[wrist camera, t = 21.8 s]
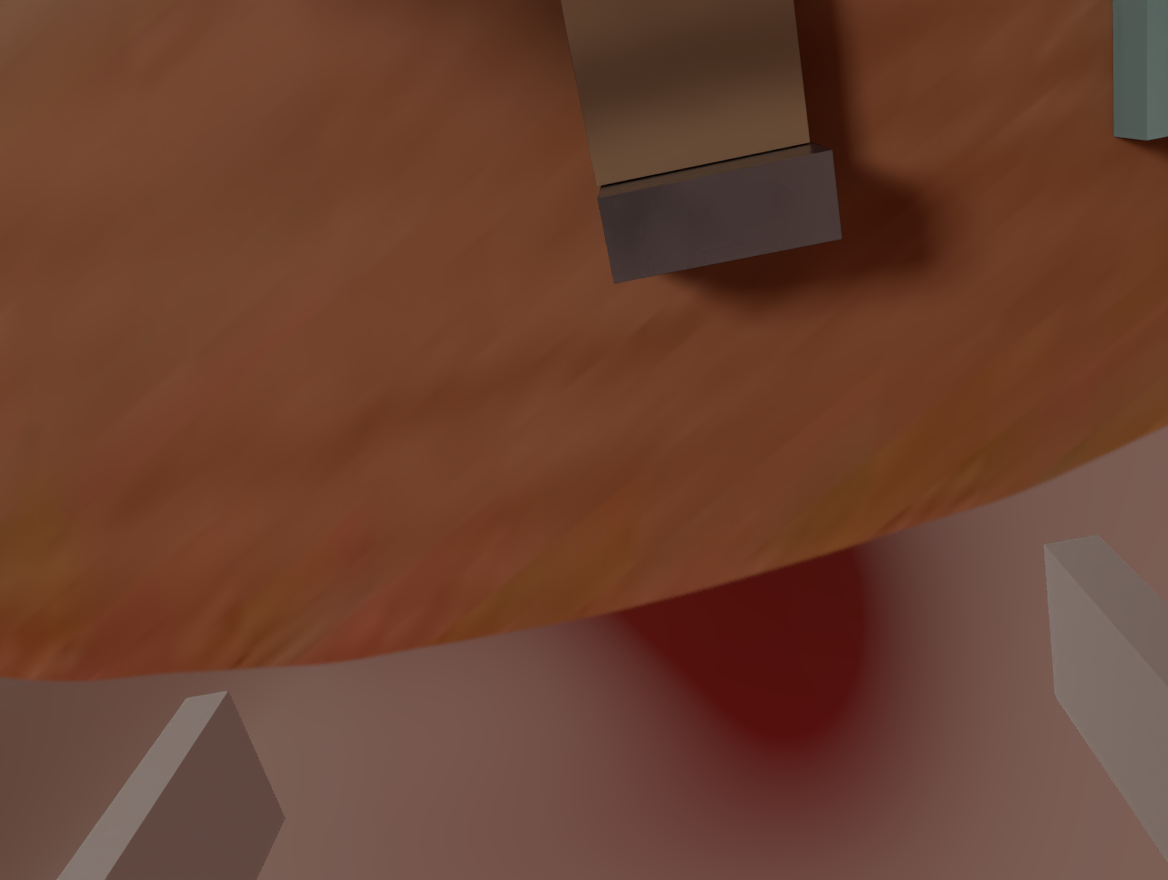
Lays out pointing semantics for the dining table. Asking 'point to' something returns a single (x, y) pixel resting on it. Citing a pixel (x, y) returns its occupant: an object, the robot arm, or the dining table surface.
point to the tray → (1140, 68)
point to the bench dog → (720, 211)
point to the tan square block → (684, 81)
